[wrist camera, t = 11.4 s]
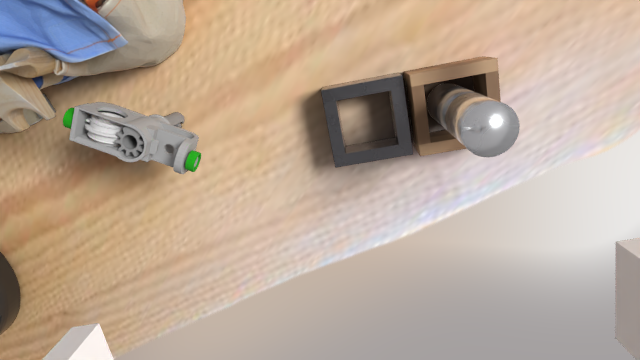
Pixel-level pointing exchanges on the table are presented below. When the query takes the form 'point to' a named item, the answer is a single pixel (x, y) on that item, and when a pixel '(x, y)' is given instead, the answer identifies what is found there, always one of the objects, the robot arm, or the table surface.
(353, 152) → the socket
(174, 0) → the toy tool belt
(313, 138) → the table surface
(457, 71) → the open square brown box
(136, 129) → the mechanical component
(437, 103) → the dome-ended metal rod
